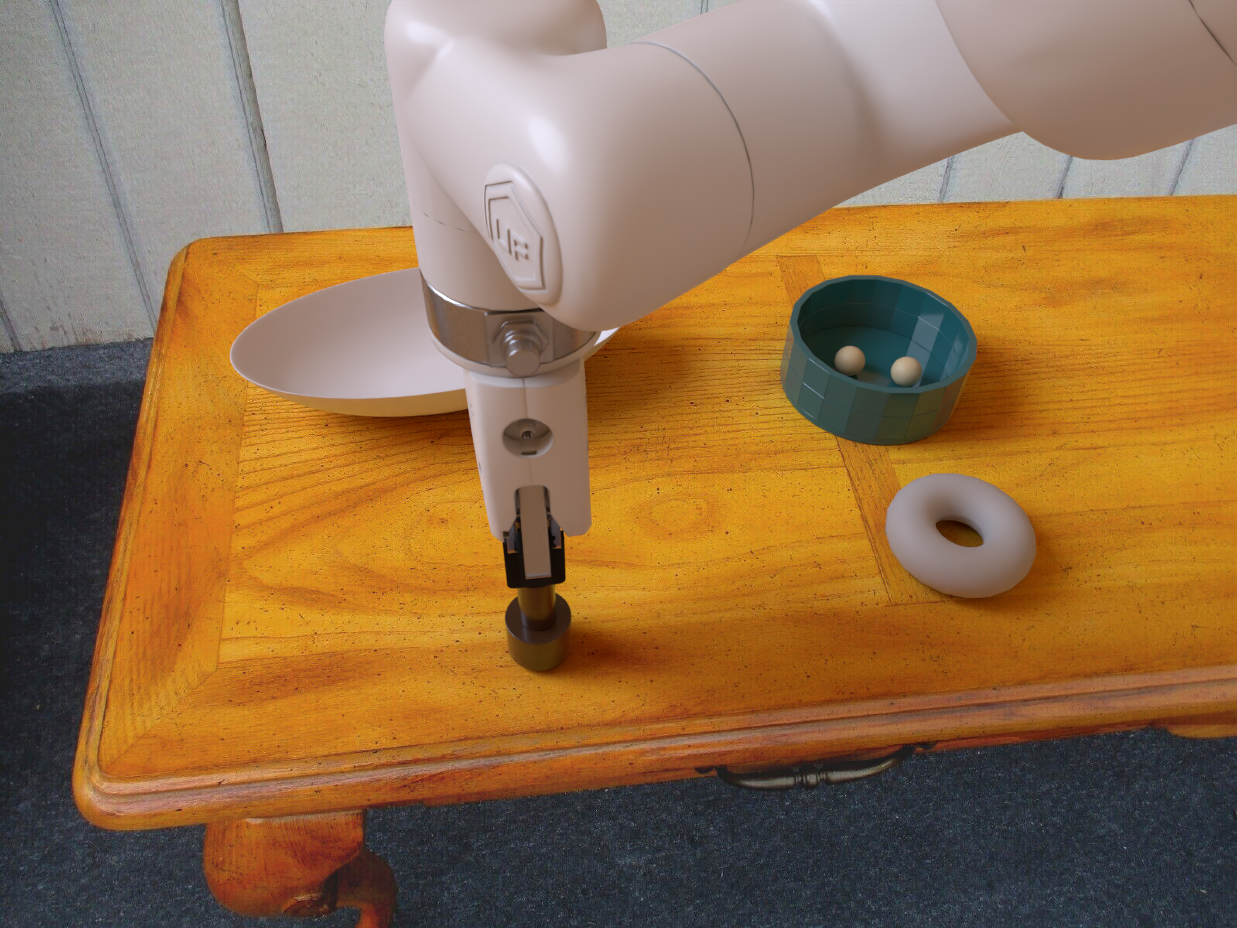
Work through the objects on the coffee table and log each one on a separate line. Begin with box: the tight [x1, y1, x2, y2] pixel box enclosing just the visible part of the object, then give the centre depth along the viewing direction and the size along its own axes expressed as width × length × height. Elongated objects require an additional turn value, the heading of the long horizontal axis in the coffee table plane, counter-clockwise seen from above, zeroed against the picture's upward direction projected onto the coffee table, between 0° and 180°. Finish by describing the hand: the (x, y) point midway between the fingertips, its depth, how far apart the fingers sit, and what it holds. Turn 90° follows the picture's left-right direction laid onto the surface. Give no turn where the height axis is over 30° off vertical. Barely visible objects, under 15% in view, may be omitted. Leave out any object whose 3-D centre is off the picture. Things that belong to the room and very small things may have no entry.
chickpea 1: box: [835, 346, 865, 376], centre depth 77 cm, size 2×2×2 cm
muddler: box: [504, 520, 573, 672], centre depth 54 cm, size 4×4×14 cm
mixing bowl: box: [779, 274, 978, 446], centre depth 76 cm, size 14×14×6 cm
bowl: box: [229, 266, 622, 418], centre depth 74 cm, size 30×15×6 cm, turn 106°
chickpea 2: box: [891, 357, 922, 387], centre depth 76 cm, size 2×2×2 cm
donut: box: [884, 472, 1037, 599], centre depth 65 cm, size 10×4×10 cm
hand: (534, 559), depth 53 cm, fingers closed on muddler, 2 cm apart
